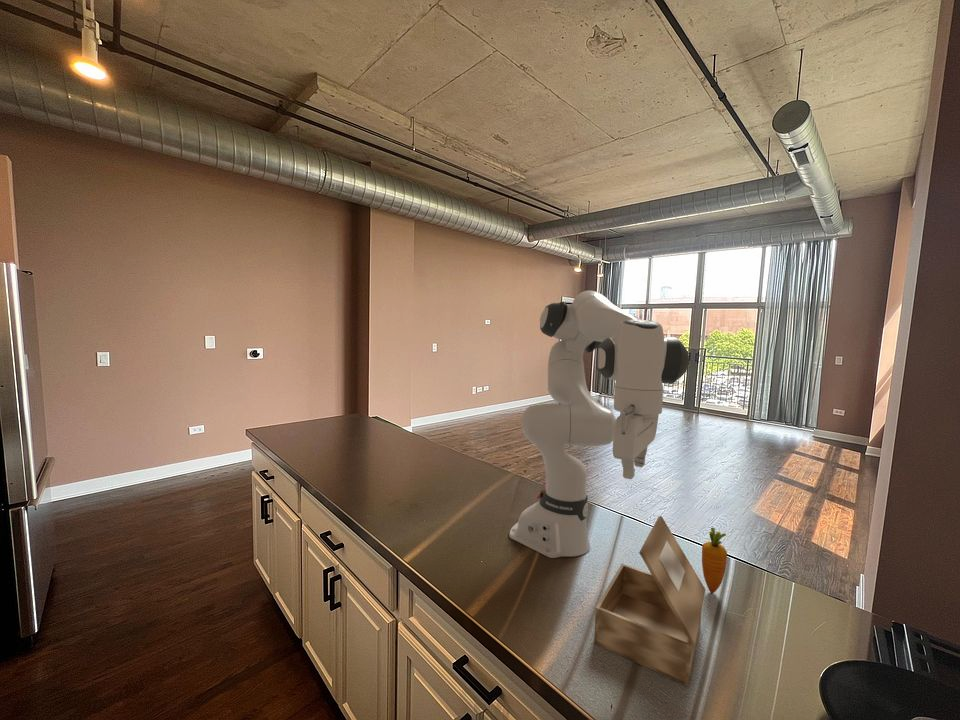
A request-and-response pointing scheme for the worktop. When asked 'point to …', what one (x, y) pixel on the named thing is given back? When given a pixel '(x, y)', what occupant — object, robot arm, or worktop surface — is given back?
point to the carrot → (714, 561)
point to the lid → (674, 577)
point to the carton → (643, 626)
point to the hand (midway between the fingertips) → (634, 471)
